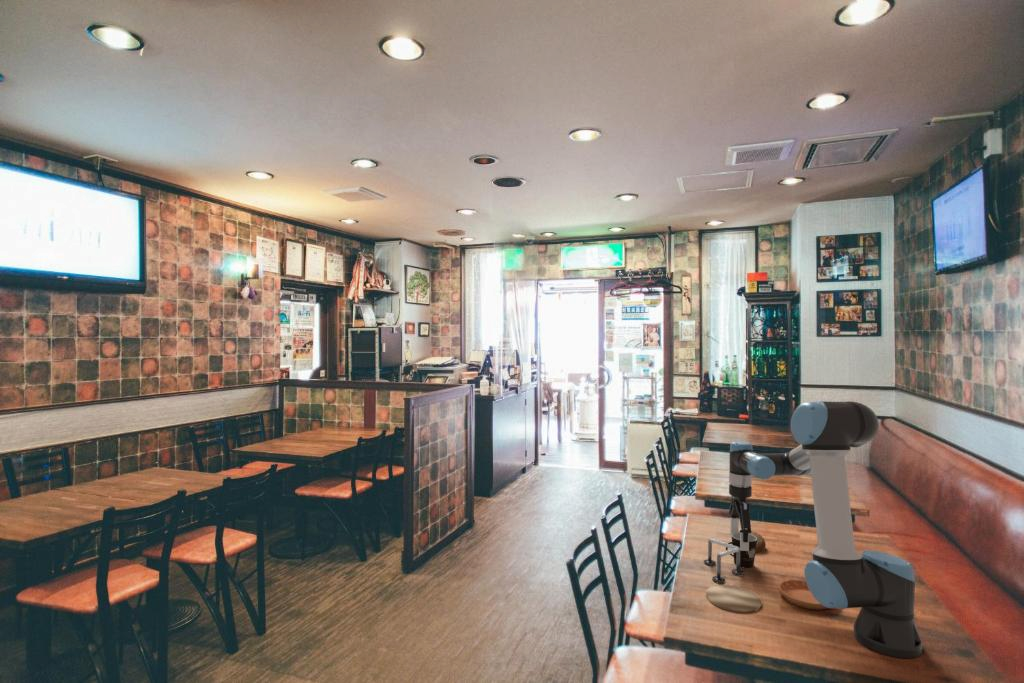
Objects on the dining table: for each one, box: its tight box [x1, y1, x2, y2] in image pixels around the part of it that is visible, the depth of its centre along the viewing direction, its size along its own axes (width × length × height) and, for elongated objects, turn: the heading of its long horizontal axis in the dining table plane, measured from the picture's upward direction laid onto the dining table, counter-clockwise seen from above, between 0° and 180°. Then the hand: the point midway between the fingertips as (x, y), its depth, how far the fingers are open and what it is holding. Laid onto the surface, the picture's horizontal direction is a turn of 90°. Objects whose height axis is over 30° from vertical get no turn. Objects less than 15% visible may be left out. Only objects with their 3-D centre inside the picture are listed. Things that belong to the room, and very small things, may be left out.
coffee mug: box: [725, 532, 757, 569], centre depth 194 cm, size 12×9×10 cm
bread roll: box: [749, 530, 766, 552], centre depth 211 cm, size 10×10×8 cm
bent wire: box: [703, 537, 745, 584], centre depth 187 cm, size 18×12×9 cm, turn 171°
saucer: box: [778, 579, 829, 611], centre depth 168 cm, size 16×16×3 cm
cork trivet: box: [705, 584, 762, 614], centre depth 168 cm, size 16×16×1 cm
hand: (739, 542), depth 194 cm, fingers open, 13 cm apart
